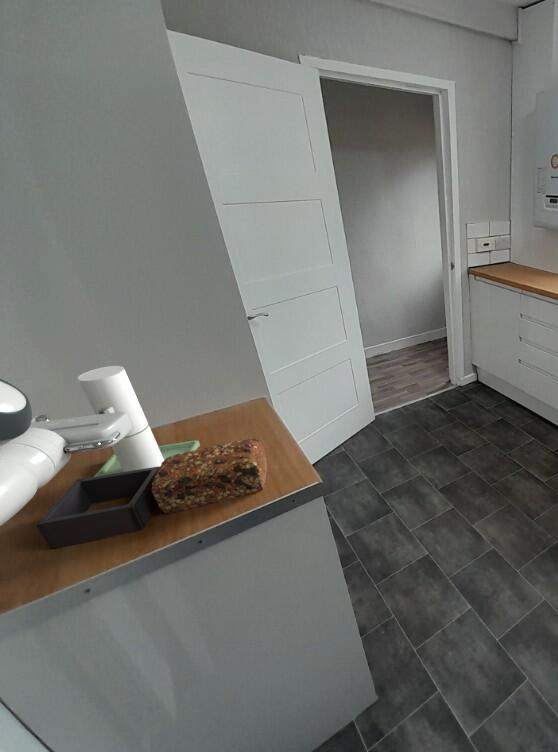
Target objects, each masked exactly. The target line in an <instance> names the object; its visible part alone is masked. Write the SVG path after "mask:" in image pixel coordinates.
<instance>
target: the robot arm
mask: <svg viewBox="0 0 558 752" xmlns="http://www.w3.org/2000/svg"><path fill="white" fill-rule="evenodd" d="M98 412H99V414H98V415H95V414H91V415H84V416H83V415H82V416H75V417H66V418H58V419H51V418H50V415H49V414H37V415H35V416H34V417H33V410H32V405H31V402H30V400H29V398H28V397H27V395H26V394H25V393H24V392H23V391H22V390H21V389H19V388H18V387H17V386H15V385H13V384H12V383H9V382H8V381H6V380H4V379H1V378H0V527H1V526H3V525H4V524H6V523H7V522H8V521H10V519H12V518H13V517H14V516H15V515H16V514H17V513H19V512H20V511H21V510H22V509H23V508H24V507H25V506H26V505H27V504H29V502H30V501H31V500H32V499H33V498H34V497H35V495H36V493H37V491H38V490H39V489H41V488H43V487H44V486H46V485H47V484H48V483H50V481H51V480H52V479H53V478H54V477H56V475H58V474H59V472H60V471H62V470H63V468H65V466H66V465H67V464H68V463H69V462H70V460H71V458H72V455H73V454H79V453H86V452H94V451H99V450H104V449H107V448H108V449H109V448H110V447H111V446H112V445H114V444H116V443H117V442H118V441H120V440H121V439H122V438H123V437H125V436H126V435H127V434H128V433H129V432H130V431H131V430H132V428H133V425H132V421H131V419H130V417H129V415H128V414H127V413H125V412H115V411H114V409H113V407H106V408H101V410H99V411H98Z"/></svg>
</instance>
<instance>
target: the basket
mask: <svg viewBox="0 0 558 752" xmlns="http://www.w3.org/2000/svg"><path fill="white" fill-rule="evenodd" d="M159 468H160V466H158V467H152V468H146V469H140V470H133V471H127V472H121V473H115V474H109V475H103V476H97V477H94V476H91V477H86V478H79V479H76V481H75V482H73V484H72V485H71V486H70V487H69V488H68V489H67V490H66V491H65V492H64V493H63V494H62V496H61V497H60V498H58V500H57V501H56V502H55V503H54V504H53V505H52V506H51V508H50V509H48V510H47V512H45V514H44V515H43V516H42V517H41V519H40V520H38V522H36V523H35V526H36V528H37V530H38V531H39V533H40V535H41V537H42V539H44V540H43V541H45V543H46V544H47V547H48V548H49V549H50V550H53V549H54V550H55V549H58V548H62V547H68V546H72V545H73V546H74V545H78V544H82V543H83V544H84V543H88V542H92V541H97V540H102V539H107V538H113V537H117V536H122V535H127V534H131V533H135V532H141V531H143V530H144V529H145V528H146V527H147V525H148V523H149V521H150V520H151V518H152V517H153V514H154V513H155V512H156V510H157V508H158V507H159V506H158V503H157V501H156V499H155V498H154V495H153V494H152V487H153V486H152V483H153V482H154V475H155V471H156V470H157V469H159ZM128 498H132V499H131V500H130V501H129V503H128V504H123V505H118V506H117V505H116V506H113V507H106V508H100V509H96V510H91V511H89V509H90V507H91V506H93V505H95V504H100V503H101V504H102V503H105V502H112V501H116V500H121V499H128Z"/></svg>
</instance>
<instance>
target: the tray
mask: <svg viewBox="0 0 558 752" xmlns="http://www.w3.org/2000/svg"><path fill="white" fill-rule="evenodd" d="M200 446H201V444H200V441H199V440H198V439H197V440H196V439H195V440H190V441H184V442H183V441H182V442H177V443H170V444H163V445H158V447H159V450H160V452H161V454H162V456H163V459H164V460H165V459H167V458H168V457H170V456H173V455H177V454H180V453H184V452H189V451H193V450H198V449H199V448H200ZM121 472H124V471H123V469H122V467H121V465H120V463H119V461H118V459H117V457H116V455H115V453H114V452H113V454H112V455H111V456H110V457H109V459H108V460H107V461H106V462H105V463H104V465H103V466H102V467H101V468H100V469H98V471H97V472H96V473H95V475H94V476H93V477H97V476H103V475H109V474H115V473H121Z"/></svg>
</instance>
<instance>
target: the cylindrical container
mask: <svg viewBox="0 0 558 752" xmlns="http://www.w3.org/2000/svg"><path fill="white" fill-rule="evenodd" d="M77 380H78V382H79V385H80V386H81V388H82V390H83V392H84V394H85V397H86V398H87V401H88V402H89V406H91V409H92V410H93V413H94V415H98V414H99V412H98V411H99V410H101V408H106V407H113V409H114V411H115V412H125V413H127V414H128V415H129V417H130V419H131V421H132V425H133V428H132V430H131V431H130V432H129V433H128V434H127V435H126V436H125V437H123V438H122V439H121V440H120V441H118V442H117V443H116V444H114V445H112V446H110V447H111V449H112V452H113V454H114V453H115V455H116V457H117V459H118V461H119V463H120V465H121V467H122V469H123V471H124V472H127V471H133V470H140V469H146V468H152V467H158V466H161V463H162V462H163V461H164V459H163V456H162V454H161V452H160V450H159V447H158V446H159V444H158V443H157V440H156V438H155V436H154V434H153V432H152V429H151V426H150V425H149V421H148V420H147V417H146V415H145V413H144V411H143V408H142V406H141V404H140V402H139V400H138V397H137V395H136V392H135V390H134V388H133V385H132V383H131V381H130V378H129V377H128V374H127V372H126V370H125V368H124V366H122V365H110V366H109V365H108V366H101V367H98V368H94V369H91V370H88V371H86V372H83V373H81V374H80V375H79V376H78V377H77Z"/></svg>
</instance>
